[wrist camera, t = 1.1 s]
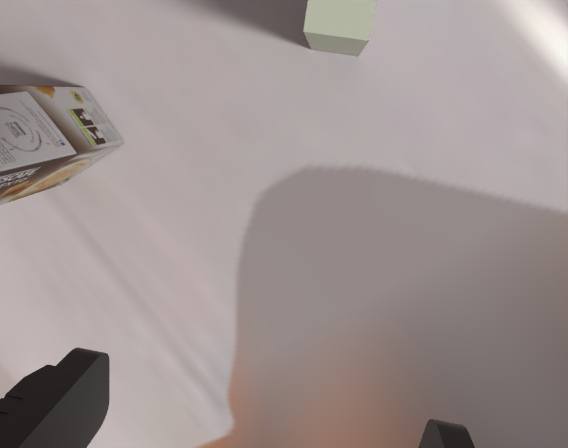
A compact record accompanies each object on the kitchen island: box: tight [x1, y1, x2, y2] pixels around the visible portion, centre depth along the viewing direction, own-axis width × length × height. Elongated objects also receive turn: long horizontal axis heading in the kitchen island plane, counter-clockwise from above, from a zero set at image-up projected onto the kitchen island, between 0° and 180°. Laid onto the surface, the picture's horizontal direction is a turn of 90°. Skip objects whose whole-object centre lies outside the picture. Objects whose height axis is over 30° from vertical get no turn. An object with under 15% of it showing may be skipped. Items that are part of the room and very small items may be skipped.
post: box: [303, 0, 377, 56], centre depth 28 cm, size 4×4×10 cm
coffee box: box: [0, 85, 123, 205], centre depth 31 cm, size 9×6×16 cm
